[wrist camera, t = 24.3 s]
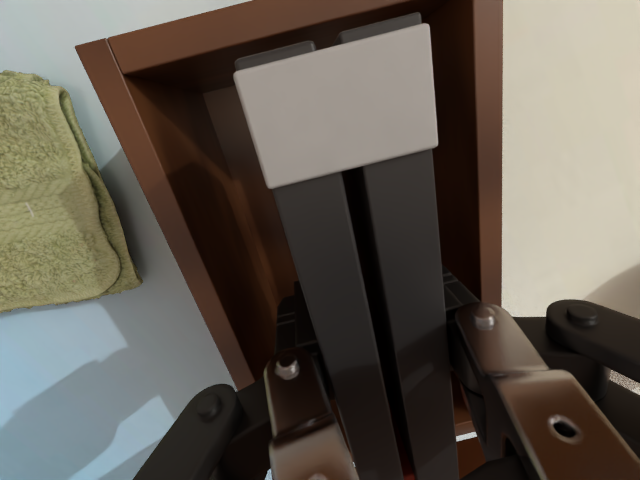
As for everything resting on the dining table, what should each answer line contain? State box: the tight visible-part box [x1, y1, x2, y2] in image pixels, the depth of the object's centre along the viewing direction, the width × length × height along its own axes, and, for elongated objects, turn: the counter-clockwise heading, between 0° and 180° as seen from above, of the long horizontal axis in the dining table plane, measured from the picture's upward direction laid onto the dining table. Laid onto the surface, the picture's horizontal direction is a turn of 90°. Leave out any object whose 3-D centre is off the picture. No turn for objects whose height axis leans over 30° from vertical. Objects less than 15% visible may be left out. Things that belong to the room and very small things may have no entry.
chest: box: [75, 0, 503, 462], centre depth 16 cm, size 20×12×9 cm, turn 13°
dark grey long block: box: [233, 12, 459, 480], centre depth 10 cm, size 15×3×5 cm, turn 13°
